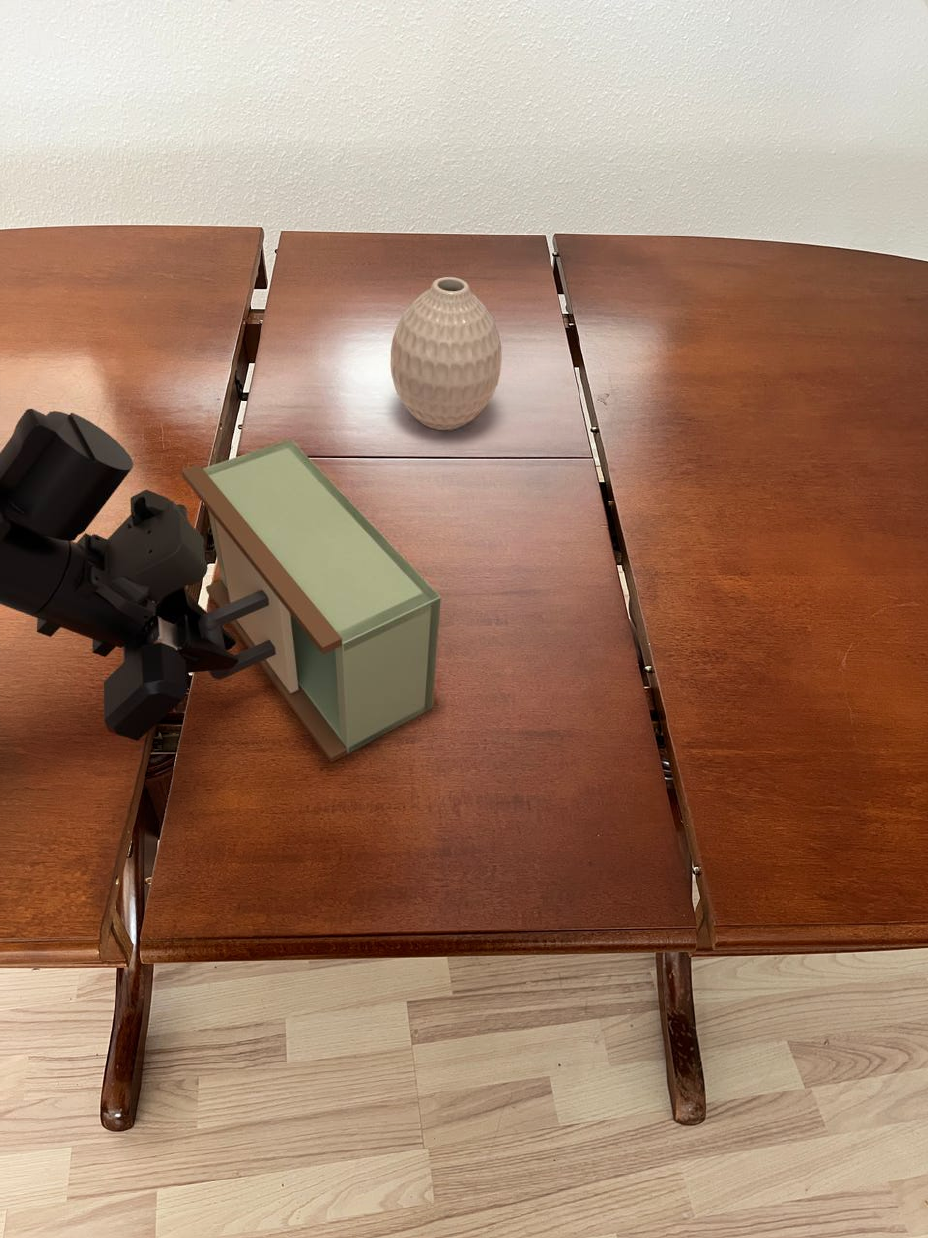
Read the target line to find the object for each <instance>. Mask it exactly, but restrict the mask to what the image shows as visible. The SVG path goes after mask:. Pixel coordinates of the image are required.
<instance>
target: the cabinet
mask: <svg viewBox="0 0 928 1238" xmlns="http://www.w3.org/2000/svg"><path fill="white" fill-rule="evenodd" d="M180 471H181V477H182V479H183V480H184V481H185V482H186V483H187V485H188V486H189V488H190V489H191V490H192V491H193V492H194V494H195V495H196V496H197V497H198V499H199V500H200V501H201V502H202V504H203V505H204V506H205V508H206V509H207V512H208V518H209V523H210V528H211V533H212V538H213V544H214V548H215V549H214V550H215V554H216V560H217V564H218V570H219V577H220V580H218V581H215V582H213V583H211V584H209V585H205V589H206V590H205V591H206V593H207V594H208V596H209V597H210V598H211V600H212V601H213V603H215V605H216V607H217V608H220V607H222V606H224V605H227V604H229V603H230V598H229V593H228V587H227V582H226V576H225V571H224V565H223V560H222V555H221V549H220V544H219V538H218V533H217V528H216V522H215V519H216V520H217V521H218V522H219V524H220V525H221V526H222V528H223V529H224V530H225V531H226V533H227V534H228V535H229V536H230V538H231V539H232V540H233V541H234V543H235V544H236V545H237V547H238V548H239V549H240V550H241V552H242V553H243V554H244V555H245V557H246V558H247V559H248V560H249V562H250V563H251V564H252V566H253V567H254V568H255V569H256V571H257V572H258V573H259V574H260V576H261V577H262V578H263V579H264V581H265V582H266V583H267V585H268V586H269V587H270V588H271V590H272V591H273V592H274V593H275V595H276V596H277V597H278V598H279V600H280V601H281V602H282V604H283V605H284V606H285V607H286V609H287V610H288V611H289V612H290V617H291V626H292V634H293V643H294V652H295V661H296V670H297V679H298V688H299V690H297V691H295V692H293V693H290V692H289V691H288V689H287V688H286V686H285V685H284V684H283V682H282V681H281V680H280V678H279V677H278V676H277V674H276V673H275V671H274V670H273V669H272V667H271V666H270V665H269V663H268V662H267V661H266V659H265V660H263V661H261V662H259V663H258V665H259V666H260V667H261V669H262V670H263V672H264V674H266V676H267V677H268V678H269V681H271V682H272V684H273V686H274V687H275V688H276V690H277V691H278V692H279V694H280V695H281V696H282V698H283V699H284V701H285V702H286V703H287V705H288V706H289V708H290V709H291V711H292V712H293V713H294V714H295V716H296V717H297V718H298V720H299V721H300V723H301V724H302V726H303V727H304V729H306V731H307V732H308V734H309V735H310V736H311V738H312V739H313V741H314V742H315V744H316V746H318V748H319V749H320V750H321V752H322V754H323V755H324V756H325V758H327V760H328V761H329V763H331V764H332V763H334V762H335V761H338V760H339V759H341V758H343V757H345V756H347V755H349V754H351V753H352V752H354V751H356V750H358V749H360V748H362V747H363V746H365V745H367V744H369V743H371V742H373V741H375V740H376V739H378V738H380V737H381V736H383V735H386V734H388V733H389V732H391V731H393V730H395V729H397V728H398V727H400V726H402V725H404V724H405V723H407V722H410V721H411V720H413V719H415V718H417V717H418V716H421V715H423V714H424V713H427V712H428V711H430V710H432V709H433V705H434V695H435V694H434V693H435V682H436V680H435V679H436V670H437V669H436V668H437V653H438V642H439V627H440V616H441V605H442V604H441V603H442V602H441V601H442V596H441V595H440V594H439V593H438V592H437V591H436V590H435V589H434V588H433V587H432V586H431V584H430V583H428V581H427V580H426V579H425V578H424V577H423V576H422V575H421V574H420V573H419V572H418V571H417V570H416V569H415V568H414V567H413V566H412V565H411V564H410V562H409V561H407V559H406V558H404V556H403V555H402V554H401V553H400V552H399V551H398V550H397V549H396V548H395V547H394V546H393V545H392V544H391V542H389V541H388V539H387V538H386V537H385V536H384V535H383V534H382V533H381V532H380V531H379V530H378V529H377V528H376V527H375V526H374V524H372V523H371V522H370V520H369V519H367V517H366V516H364V514H363V513H362V512H361V511H360V510H359V509H358V508H357V507H356V506H355V505H354V504H353V503H352V502H351V500H350V499H349V498H347V496H346V495H345V494H344V493H343V492H342V491H341V490H340V489H339V488H338V487H337V486H336V485H335V484H334V483H333V482H332V481H331V479H329V477H328V476H327V475H325V473H324V472H323V471H322V470H321V469H320V468H319V466H317V465H316V464H315V462H313V461H312V459H311V458H310V457H309V456H307V454H306V453H305V452H304V451H303V450H302V449H301V448H300V447H299V446H298V444H296V442H295V441H293V440H292V438H288V439H286V440H282V441H280V442H277V443H273V444H271V445H269V446H265V447H262V448H260V449H259V448H258V449H256V450H253V451H251V452H250V451H249V452H248V453H245V454H242V455H239V456H236V457H233V458H229V459H227V460H224V461H221V462H218V463H215V464H212V465H209V466H207V467H202V466H201V464H199V463H197V464H195V465H191V466H188V467H186V468H182V469H181V470H180ZM228 624H229V625H230V626H231V627H232V629H233V630H234V631H235V633H236V634H237V636H238V637H239V638H240V640H241V641H242V643H243V644H244V645H245V647H246V648H247V649H250V648H252V647H254V646H255V644H254V643H253V641H252V640H251V639H250V637H249V636H248V635H247V633H246V632H245V631H244V629H243V628H242V626H241V625H240V624H239V622H238V621H237V620H234V621H231V622H229V623H228Z"/></svg>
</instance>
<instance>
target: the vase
mask: <svg viewBox="0 0 928 1238" xmlns="http://www.w3.org/2000/svg"><path fill="white" fill-rule="evenodd" d="M502 356H503V355H502V343H501V339H500V334H499V331H498V328H497V325H496V323H495V321H494V319H493V317H492V314H491V313H490V312H489V310H488V309H487V307H486V306H485V304H484V303H483V302H482V301H481V299H480V298H478V297H477V296H476V295H475V294H474V293H473V292H472V291H471V289H470V286H469V284H468V282H466V281H465V280H463V279H461V278H458V277H454V276H443V277H440V278H437V279H435V280H434V281H433V282H432V283H431V286H430V288H429V289H427V290H426V291H424V292H423V293H422V294H420V295H419V296H418V297H417V298H416V299H414V300H413V301H412V302H411V303H410V305H409V306H408V307H407V308H406V310H405V311H404V313H403V314H402V316H401V317H400V319H399V321H398V323H397V325H396V327H395V330H394V334H393V337H392V341H391V347H390V373H391V378H392V382H393V386H394V388H395V389H394V390H395V391H396V393H397V395H398V397H399V399H400V401H401V402H402V404H403V406H404V407H405V408H406V410H407V411H408V412H409V413H410V415H412V416H413V417H414V418H415V419H416V420H417V421H418V422H419V423H421V424H422V425H423V426H426V427H427V428H430V429H432V430H437V431H453V430H457V429H459V428H461V427H463V426H465V425H467V424H468V423H470V422H471V421H472V420H474V419H475V418H476V417H477V416H478V415H479V414H480V413H481V412H482V411H483V410H484V409H485V408H486V406H487V405H488V404H489V402H490V400H491V399H492V398H493V396H494V393H495V391H496V389H497V387H498V383H499V380H500V376H501V369H502V358H503V357H502Z"/></svg>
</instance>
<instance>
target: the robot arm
mask: <svg viewBox="0 0 928 1238" xmlns="http://www.w3.org/2000/svg"><path fill="white" fill-rule="evenodd" d="M133 468H134V461H133V459H132V457H131V455H130V454H129V453H128V451H127V450H126V449H125V448H124V447H123V446H122V445H121V444H120V443H119V442H118V440H116V439H115V438H114V437H113V436H111V435H110V434H109V433H108V432H107V431H105V430H103V429H102V428H101V427H99V426H98V425H96V424H95V423H93V422H91V421H90V420H88V419H86V418H84V417H82V416H80V415H79V414H76V413H74V412H70V413H65V412H63V411H56V410H54V411H53V410H52V411H49V412H48V413H47V414H44V413H42V412H40V411H39V410H36V409H34V408H28V409H26V410H25V411H24V413H23V414H22V416H21V417H20V419H19V420H18V421H17V422H16V425H15V427H14V431H13V433H12V435H11V436H10V438H9V440H8V441H7V442H6V444H5V445H4V447H3V448H2V450H1V451H0V605H2V606H4V607H6V608H10V609H12V610H14V611H18V612H20V613H22V614H25V615H28V616H30V617H33V618H36V619H37V621H36V633H39V634H40V635H41V634H42V635H44V636H47V637H49V638H51V637H53V636H54V635H55V634H56V633H57V631H58V630H59V629H60V628H62V629H64V630H67V631H70V632H72V633H75V634H78V635H81V636H83V637H86V638H88V639H91V640H92V654H96V655H99V656H101V657H104V658H106V657H108V655H109V654H110V653H111V652H112V651H113V650H115V648H120V649H122V657H123V658H122V663H121V664H120V665H119V667H118V668H116V670H114V671H113V672H112V673H111V674H110V675H109V676H108V677H107V678H106V679H105V680H104V681H103V721H104V723H105V726H106V729H107V731H108V732H109V733H111V734H114V735H117V736H120V737H123V738H127V739H129V740H133V741H136V742H139V740H141V739H142V738H143V737H144V736H145V735H146V734H147V733H149V732H150V731H151V730H152V729H153V728H154V727H156V725H157V724H158V723H160V722H161V721H163V719H164V718H165V717H166V716H167V715H168V714H169V713H171V712H172V711H173V710H174V709H175V708H176V707H177V706H178V705H180V703H182V702H183V701H184V699H185V697H186V694H187V692H188V688H189V687H188V676H187V674H193V673H203V672H209V671H213V670H223V669H231V668H233V667H234V666H235V665H236V664H237V663H238V662H239V660H238V657H236V656H235V655H236V654H234V653H232V652H230V650H231V649H232V648H234V646H236V644H237V640H236V638H235V637H234V636H233V635H232V634H231V633H230V632H229V631H228V630H227V629H226V628H224V627H223V625H222V626H221V630H222V635H223V640H224V644H225V649H226V650H225V649H223V648H221V647H219V646H218V645H216V644H214V643H212V642H210V641H208V640H206V639H204V638H202V637H201V635H200V630H199V626H198V621H199V619H200V617H201V616H202V615H203V614H206V613H208V611H206V609H204V608H203V607H202V606H201V605H200V604H199V603H198V602H197V601H196V600H195V599H194V598H193V597H192V596H191V595H190V593H189V592H188V589H187V586H193V585H195V584H198V583H200V582H201V581H202V580H203V579H204V578H205V577H206V575H207V572H208V570H209V569H208V567H209V565H208V562H207V560H206V554H205V543H206V542H205V538H204V536H203V535H202V534H201V533H200V532H199V531H198V530H197V529H196V528H195V527H194V526H193V525H192V523H191V522H190V521H189V517H188V510H187V509H188V508H187V507H186V505H184V504H179V503H178V504H177V503H176V502H175V501H174V500H171V499H170V498H168V497H167V496H163V495H161V494H159V493H156V492H154V491H152V490H148V489H145V490H143V491H140V492H139V493H136V494H135V495H133V496H131V497H130V502H129V503H130V514H129V516H128V517H127V518H126V519H125V520H124V521H123V522H122V523H121V524H120V526H118V528H116V529H115V530H114V532H113V533H112V534H111V535H110V536H109V537H108V538H104V537H103V536H100V535H98V534H95V533H93V534H92V535H90V534H88V533H84V532H85V531H86V530H87V529H88V528H89V526H90V525H91V523H93V521H94V520H95V518H96V517H97V516H98V514H99V513H100V512H101V510H103V508H104V507H105V505H106V503H108V501H109V500H110V498H111V497H112V496H113V494H114V493H115V492H116V490H118V488H119V486H121V484H122V483H123V481H124V480H125V479H126V477H127V476H128V475H129V473H130V472H131V471H132V469H133ZM83 533H84V534H83ZM82 534H83V535H82ZM80 535H82V536H81V537H80V538H79V539H78V541H76V539H77V538H78V536H80ZM75 541H76V542H75Z"/></svg>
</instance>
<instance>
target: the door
mask: <svg viewBox="0 0 928 1238" xmlns="http://www.w3.org/2000/svg"><path fill="white" fill-rule="evenodd" d="M215 522H216V528H217V533H218V538H219V544H220V549H221V555H222V560H223V565H224V571H225V576H226V582H227V587H228V593H229V598H230V603H229V604H227V605H224V606H222V607H220V608H218V607H217V608H215V609H212V610H210V611H207V613H206V614H203V615H202V616H201V617H200V619H199V621H198V626H199V630H200V635H201V637H202V638H204V639H206V640H208V641H210V642H212V643H214V644H216V645H218V646H219V647H221V648H223V649H225V644H224V640H223V635H222V630H221V626H222V627H223V626H224V625H227V624H230V623H229V622H231V621H234V620H237V621H238V622H239V624H240V625H241V626H242V628H243V629H244V631H245V632H246V633H247V635H248V636H249V637H250V639H251V640H252V641H253V643H254V644H255V646H254V647H252V648H250V649H248V648H247V649H245V650H243V651H241V652H239V653H236V654H234V655H235V656H236V657H238V660H239V662H238V663H237V664H236V665H235V666H234V667H233V668H231V669H223V670H213V671H208V672H209V673H208V674H209V675H210V676H211V678H213V679H215V680H224V679H225V678H229V677H231V676H232V675H235V674H237V673H239V672H241V671H243V670H245V669H248V668H250V667H252V666H254V665H256V664H259V662H261V661H263V660H265V659H266V661H267V662H268V663H269V665H270V666H271V667H272V669H273V670H274V671H275V673H276V674H277V676H278V677H279V678H280V680H281V681H282V682H283V684H284V685H285V686H286V688H287V689H288V691H289V692H290V693H293V692H295V691H297V690H299V688H298V679H297V670H296V661H295V652H294V643H293V634H292V626H291V617H290V612H289V611H288V610H287V609H286V607H285V606H284V605H283V604H282V602H281V601H280V600H279V598H278V597H277V596H276V595H275V593H274V592H273V591H272V590H271V588H270V587H269V586H268V585H267V583H266V582H265V581H264V579H263V578H262V577H261V576H260V574H259V573H258V572H257V571H256V569H255V568H254V567H253V566H252V564H251V563H250V562H249V560H248V559H247V558H246V557H245V555H244V554H243V553H242V552H241V550H240V549H239V548H238V547H237V545H236V544H235V543H234V541H233V540H232V539H231V538H230V536H229V535H228V534H227V533H226V531H225V530H224V529H223V528H222V526H221V525H220V524H219V522H218V521H217V520H216V519H215ZM225 650H226V649H225Z"/></svg>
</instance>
